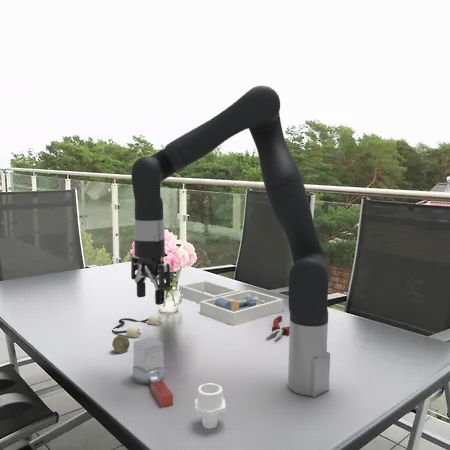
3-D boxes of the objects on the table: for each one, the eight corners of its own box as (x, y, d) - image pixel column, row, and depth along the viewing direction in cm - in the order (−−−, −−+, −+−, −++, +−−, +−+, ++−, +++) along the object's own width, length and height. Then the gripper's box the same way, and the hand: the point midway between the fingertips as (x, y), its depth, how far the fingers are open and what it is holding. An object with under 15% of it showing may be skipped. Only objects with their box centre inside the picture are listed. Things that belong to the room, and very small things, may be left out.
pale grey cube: (163, 367, 117) (163, 343, 116) (145, 373, 113) (144, 348, 113) (151, 360, 121) (151, 337, 120) (133, 366, 117) (133, 342, 117)
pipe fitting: (224, 415, 100) (224, 380, 99) (225, 434, 93) (225, 397, 92) (195, 415, 100) (195, 380, 99) (194, 434, 93) (194, 397, 92)
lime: (131, 349, 136) (130, 333, 135) (123, 355, 131) (123, 339, 131) (117, 347, 137) (117, 331, 137) (109, 354, 133) (109, 337, 132)
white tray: (283, 310, 175) (283, 299, 175) (233, 325, 158) (233, 313, 157) (249, 300, 189) (249, 289, 188) (199, 313, 171) (200, 301, 171)
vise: (227, 322, 162) (228, 304, 161) (211, 314, 170) (211, 297, 169) (265, 313, 173) (265, 296, 172) (248, 306, 181) (248, 290, 180)
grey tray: (239, 301, 187) (240, 290, 187) (213, 308, 178) (213, 296, 177) (205, 290, 204) (205, 280, 203) (179, 295, 194) (179, 285, 194)
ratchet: (183, 402, 105) (183, 375, 105) (150, 409, 102) (149, 382, 101) (159, 369, 123) (158, 345, 122) (129, 374, 119) (129, 350, 119)
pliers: (253, 339, 146) (253, 331, 146) (278, 321, 164) (278, 314, 164) (288, 347, 140) (288, 339, 140) (310, 327, 159) (310, 320, 158)
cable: (97, 334, 150) (96, 324, 149) (124, 319, 165) (124, 310, 164) (138, 340, 144) (138, 330, 144) (162, 325, 159) (162, 315, 159)
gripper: (121, 235, 117) (123, 297, 118) (152, 242, 106) (153, 309, 108) (146, 233, 122) (147, 292, 124) (178, 239, 111) (179, 303, 113)
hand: (150, 300), depth 116 cm, fingers open, 8 cm apart
